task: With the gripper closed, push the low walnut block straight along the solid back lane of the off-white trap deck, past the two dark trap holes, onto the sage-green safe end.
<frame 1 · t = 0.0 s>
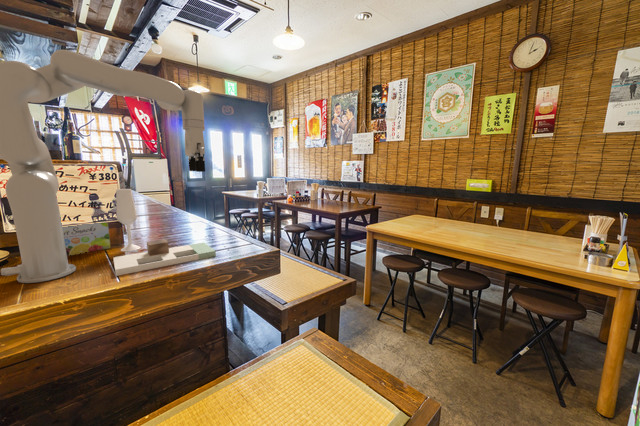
hand: (197, 171, 104), 31 cm above the table, fingers open, 9 cm apart
trap deck: (167, 259, 96), on the table
walnut block: (158, 252, 97), point 2 cm above the table, touching trap deck
champagne flute: (130, 249, 107), on the table
snack box: (75, 253, 101), on the table
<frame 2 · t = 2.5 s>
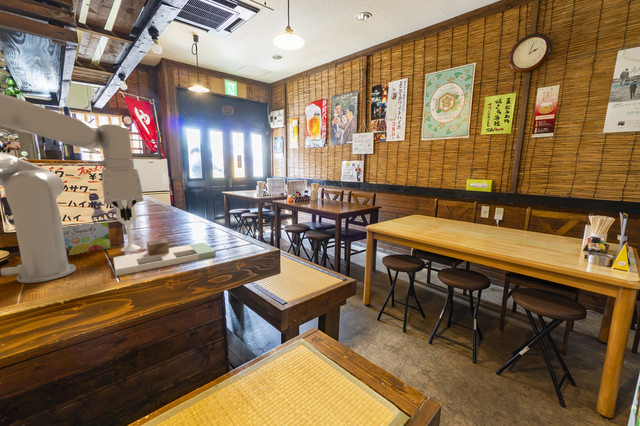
hand: (126, 219, 90), 15 cm above the table, fingers closed
nothing on the table moved.
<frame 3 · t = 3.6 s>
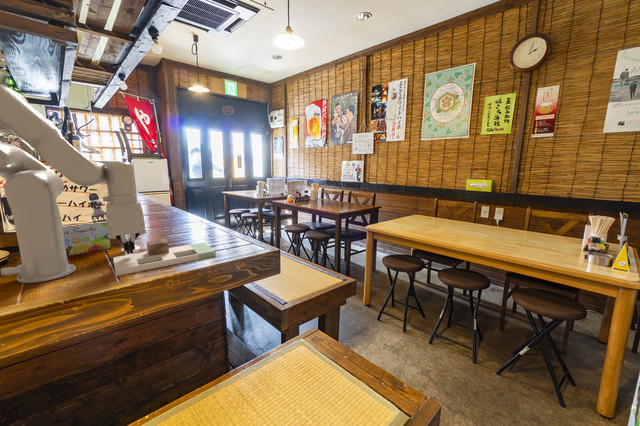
hand: (129, 252, 91), 4 cm above the table, fingers closed
nothing on the table moved.
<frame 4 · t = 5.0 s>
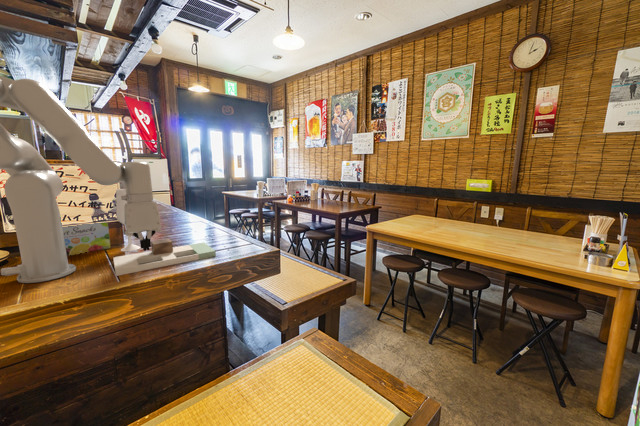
hand: (146, 249, 94), 4 cm above the table, fingers closed
walnut block: (162, 251, 98), point 2 cm above the table, touching gripper, trap deck
everything else where it was.
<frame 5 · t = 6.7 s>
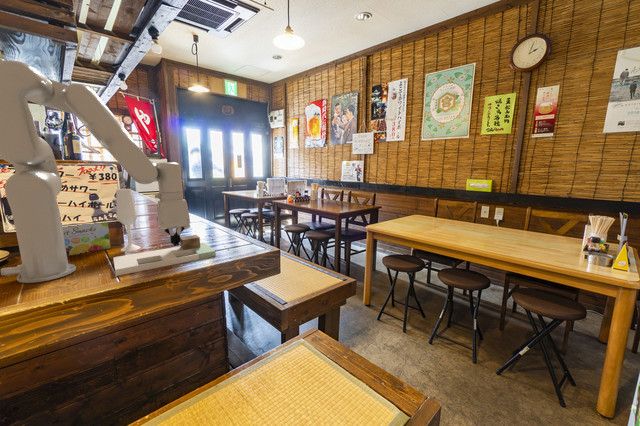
hand: (175, 244, 100), 4 cm above the table, fingers closed
walnut block: (190, 247, 104), point 2 cm above the table, touching trap deck
everything else where it was.
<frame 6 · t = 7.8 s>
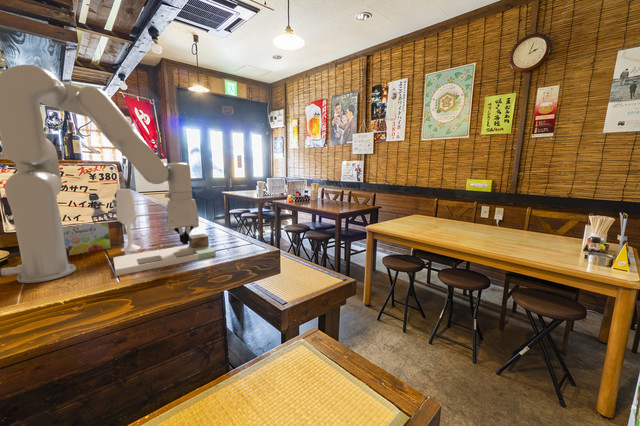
hand: (184, 243, 102), 4 cm above the table, fingers closed
walnut block: (199, 245, 106), point 2 cm above the table, touching trap deck
everything else where it was.
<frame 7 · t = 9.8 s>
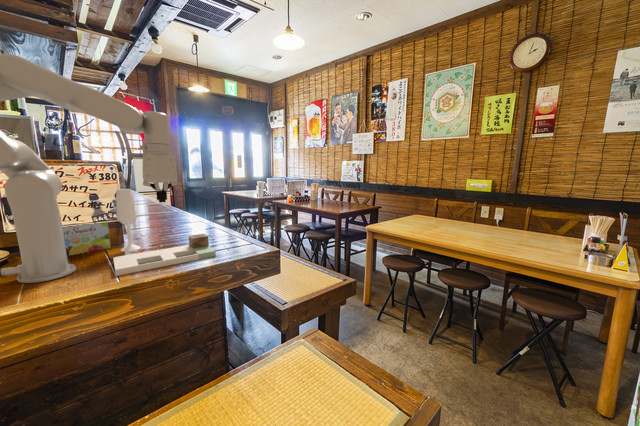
hand: (162, 201, 96), 20 cm above the table, fingers closed
nothing on the table moved.
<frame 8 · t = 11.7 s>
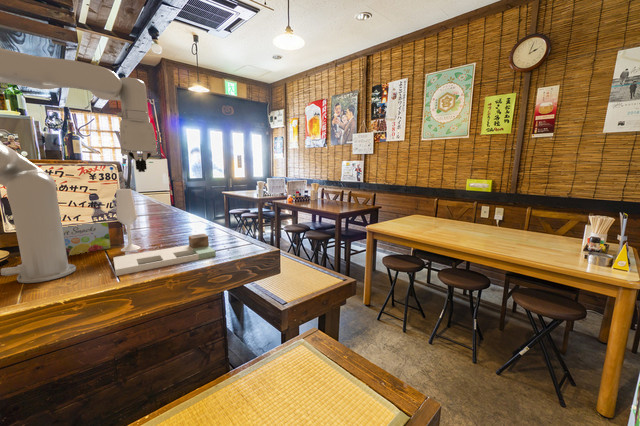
hand: (141, 171, 94), 31 cm above the table, fingers closed
nothing on the table moved.
at the end: walnut block inside the target area (0.1 cm from its centre), point 2.0 cm above the table; walnut block tilted 0° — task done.
